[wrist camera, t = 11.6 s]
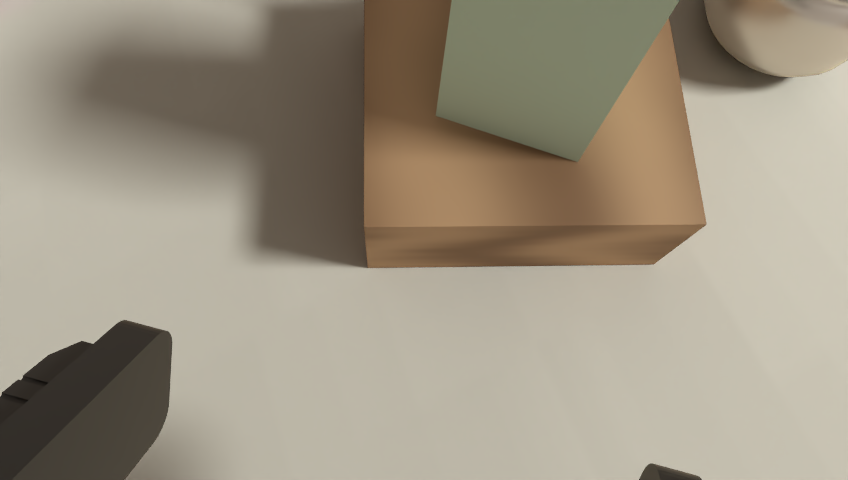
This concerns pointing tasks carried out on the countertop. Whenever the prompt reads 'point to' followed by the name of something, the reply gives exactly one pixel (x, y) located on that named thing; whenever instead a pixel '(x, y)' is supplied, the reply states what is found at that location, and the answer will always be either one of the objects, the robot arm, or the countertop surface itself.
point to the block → (543, 66)
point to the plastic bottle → (782, 34)
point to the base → (515, 165)
